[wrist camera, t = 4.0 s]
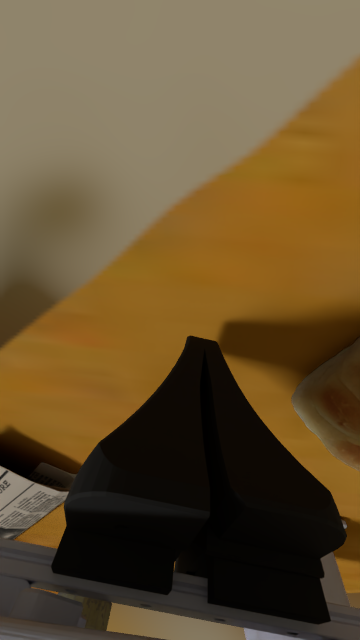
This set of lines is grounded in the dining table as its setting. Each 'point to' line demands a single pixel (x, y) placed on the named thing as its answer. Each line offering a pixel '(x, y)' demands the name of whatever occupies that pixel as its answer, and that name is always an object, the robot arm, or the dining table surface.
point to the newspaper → (30, 497)
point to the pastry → (334, 404)
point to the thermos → (93, 611)
